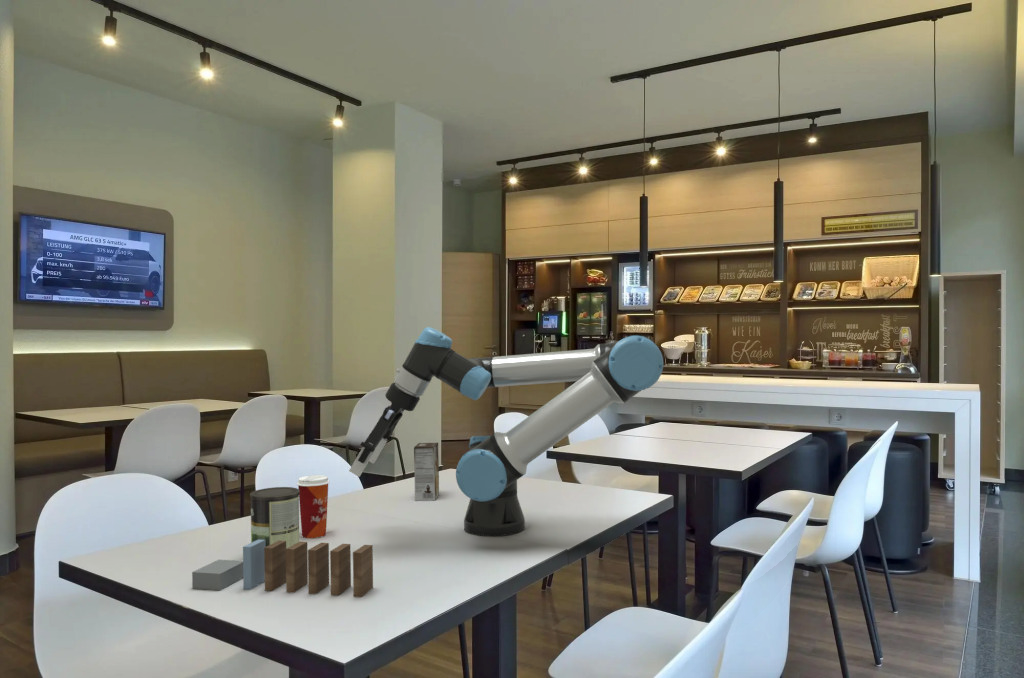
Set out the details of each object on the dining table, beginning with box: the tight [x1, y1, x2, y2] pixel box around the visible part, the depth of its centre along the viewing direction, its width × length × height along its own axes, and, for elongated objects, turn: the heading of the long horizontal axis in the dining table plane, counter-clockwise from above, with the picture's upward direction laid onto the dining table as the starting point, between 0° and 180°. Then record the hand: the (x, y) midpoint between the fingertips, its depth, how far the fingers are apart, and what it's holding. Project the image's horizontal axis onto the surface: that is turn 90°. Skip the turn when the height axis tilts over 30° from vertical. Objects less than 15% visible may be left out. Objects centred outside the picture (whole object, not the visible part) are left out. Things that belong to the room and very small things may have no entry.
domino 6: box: [352, 544, 374, 598], centre depth 129 cm, size 2×5×8 cm, turn 167°
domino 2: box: [264, 541, 286, 592], centre depth 133 cm, size 2×5×8 cm, turn 167°
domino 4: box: [307, 542, 330, 595], centre depth 131 cm, size 2×5×8 cm, turn 167°
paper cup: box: [296, 474, 331, 539], centre depth 170 cm, size 8×8×14 cm
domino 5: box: [329, 543, 352, 596], centre depth 130 cm, size 2×5×8 cm, turn 167°
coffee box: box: [413, 442, 440, 502], centre depth 211 cm, size 9×6×16 cm
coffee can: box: [249, 486, 300, 549], centre depth 153 cm, size 10×10×14 cm
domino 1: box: [242, 540, 266, 590], centre depth 134 cm, size 2×5×8 cm, turn 167°
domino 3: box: [285, 541, 308, 593], centre depth 132 cm, size 2×5×8 cm, turn 167°
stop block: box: [191, 559, 243, 591], centre depth 136 cm, size 6×8×3 cm
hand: (362, 467), depth 164 cm, fingers open, 13 cm apart
